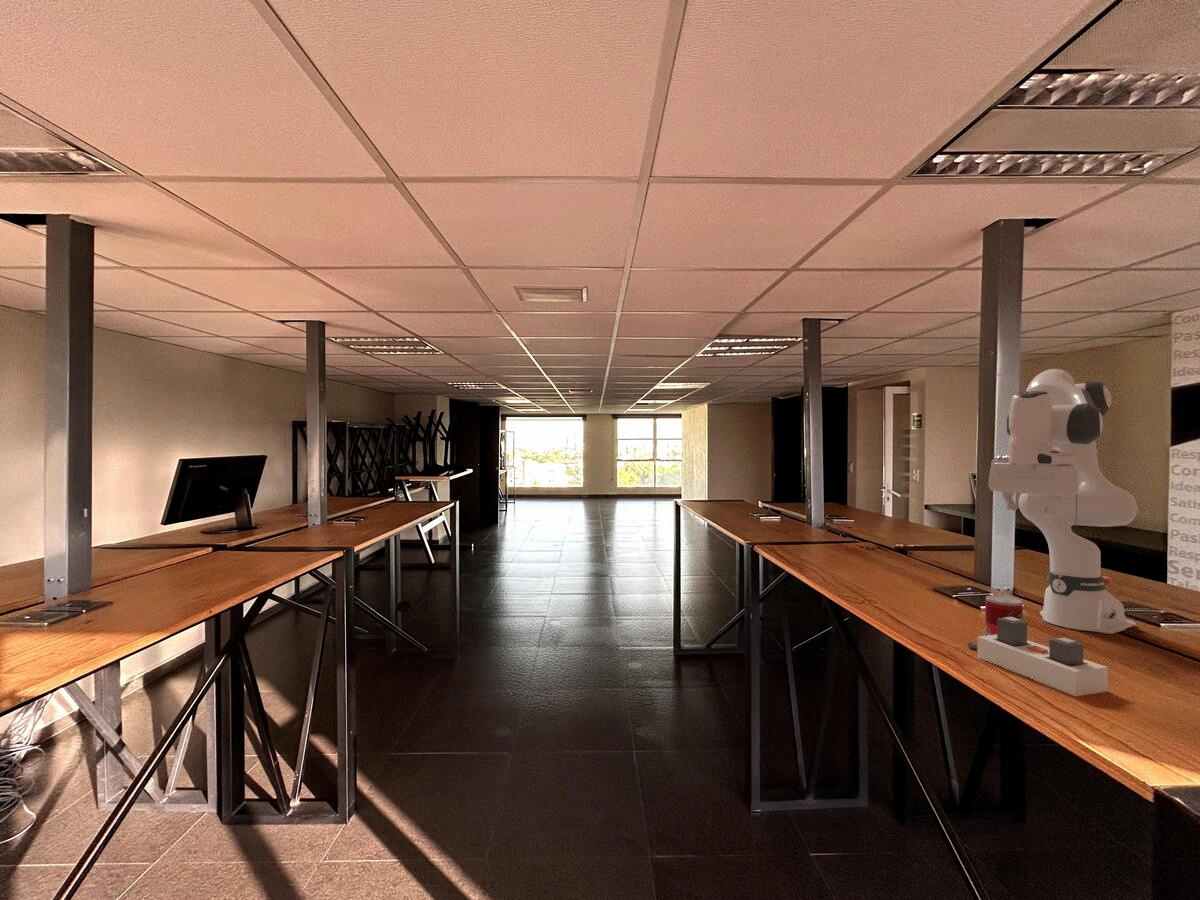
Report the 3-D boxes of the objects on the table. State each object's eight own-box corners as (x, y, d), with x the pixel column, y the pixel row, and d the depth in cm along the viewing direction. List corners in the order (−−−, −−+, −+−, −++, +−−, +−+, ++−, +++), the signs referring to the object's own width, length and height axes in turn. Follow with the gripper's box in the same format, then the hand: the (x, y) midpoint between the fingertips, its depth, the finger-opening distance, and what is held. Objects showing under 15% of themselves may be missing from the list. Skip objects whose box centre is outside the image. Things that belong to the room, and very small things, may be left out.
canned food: (1012, 649, 143) (1012, 604, 143) (978, 639, 150) (978, 597, 150) (1029, 644, 146) (1029, 601, 146) (995, 634, 154) (995, 593, 153)
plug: (1010, 650, 136) (1010, 615, 136) (1026, 656, 132) (1027, 620, 132) (997, 652, 135) (997, 616, 135) (1013, 658, 131) (1013, 621, 131)
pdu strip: (984, 645, 145) (984, 608, 145) (1107, 691, 118) (1108, 645, 118) (955, 648, 143) (955, 611, 143) (1075, 696, 116) (1075, 650, 116)
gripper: (982, 455, 151) (982, 508, 152) (1063, 457, 132) (1062, 517, 132) (1001, 455, 153) (1000, 507, 153) (1083, 457, 133) (1083, 516, 134)
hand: (1030, 512), depth 142 cm, fingers open, 8 cm apart
